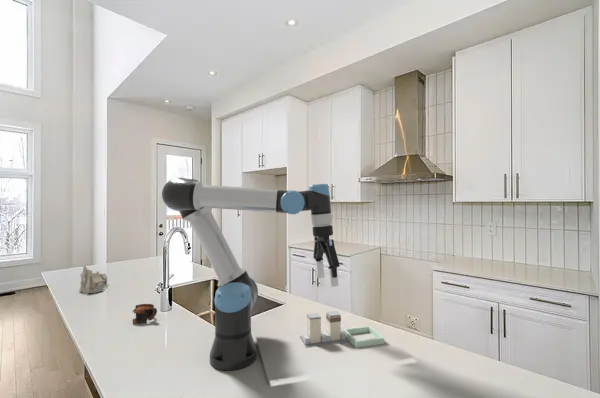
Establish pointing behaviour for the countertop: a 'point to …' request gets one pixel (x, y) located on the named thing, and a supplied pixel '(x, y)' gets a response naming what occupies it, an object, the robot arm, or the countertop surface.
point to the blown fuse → (333, 325)
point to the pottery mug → (144, 313)
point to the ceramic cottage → (92, 281)
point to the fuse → (314, 327)
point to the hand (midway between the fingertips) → (327, 281)
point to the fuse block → (323, 339)
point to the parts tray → (366, 342)
